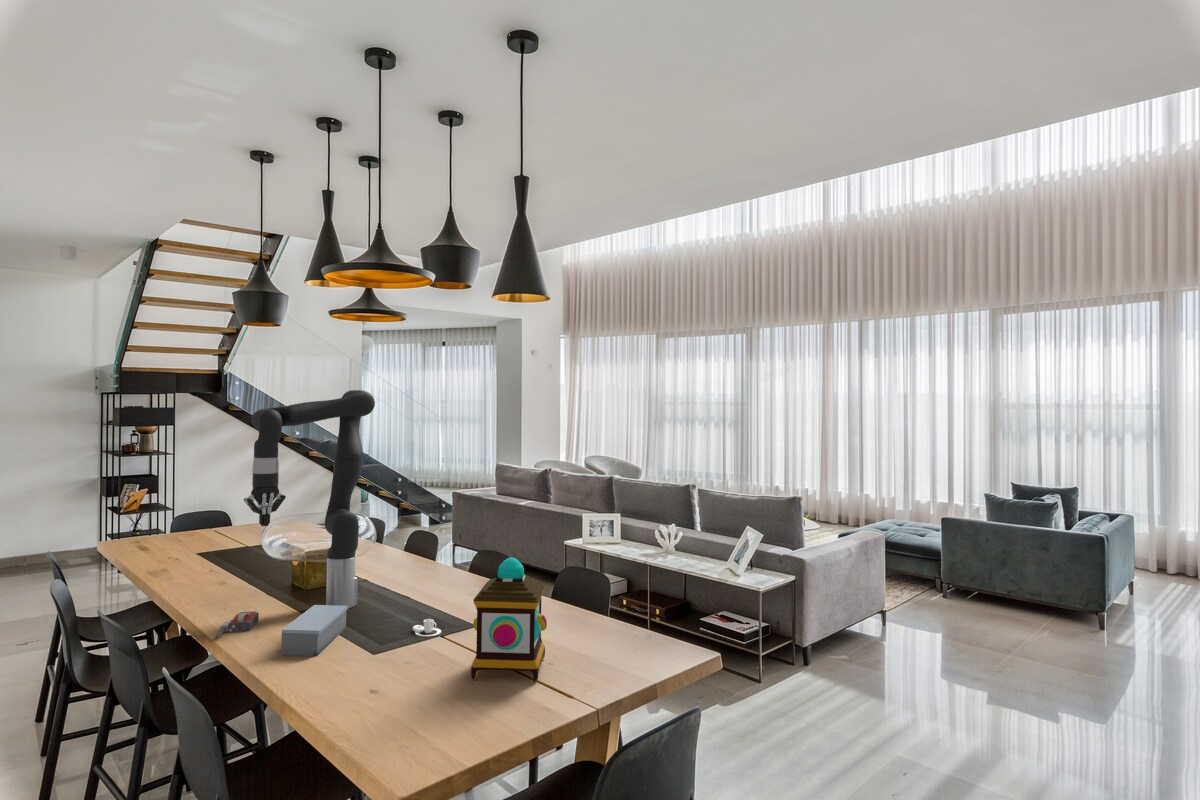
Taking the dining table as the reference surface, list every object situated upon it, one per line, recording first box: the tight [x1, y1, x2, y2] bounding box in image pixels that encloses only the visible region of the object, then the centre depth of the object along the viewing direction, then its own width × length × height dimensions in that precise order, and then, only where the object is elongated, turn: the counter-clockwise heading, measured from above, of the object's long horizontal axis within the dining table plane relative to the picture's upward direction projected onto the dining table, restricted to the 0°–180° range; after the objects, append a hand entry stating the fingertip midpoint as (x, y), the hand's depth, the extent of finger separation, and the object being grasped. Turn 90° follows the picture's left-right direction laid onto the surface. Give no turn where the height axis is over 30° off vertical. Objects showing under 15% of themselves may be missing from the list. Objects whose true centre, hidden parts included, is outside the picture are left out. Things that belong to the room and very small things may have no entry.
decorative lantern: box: [470, 557, 548, 683], centre depth 188 cm, size 20×20×30 cm
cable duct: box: [280, 610, 347, 657], centre depth 207 cm, size 10×24×6 cm, turn 2°
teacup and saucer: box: [412, 618, 442, 637], centre depth 217 cm, size 9×8×4 cm
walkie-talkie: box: [215, 610, 260, 639], centre depth 217 cm, size 9×4×20 cm
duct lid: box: [281, 604, 349, 634], centre depth 207 cm, size 10×24×1 cm, turn 2°
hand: (264, 525), depth 223 cm, fingers closed
